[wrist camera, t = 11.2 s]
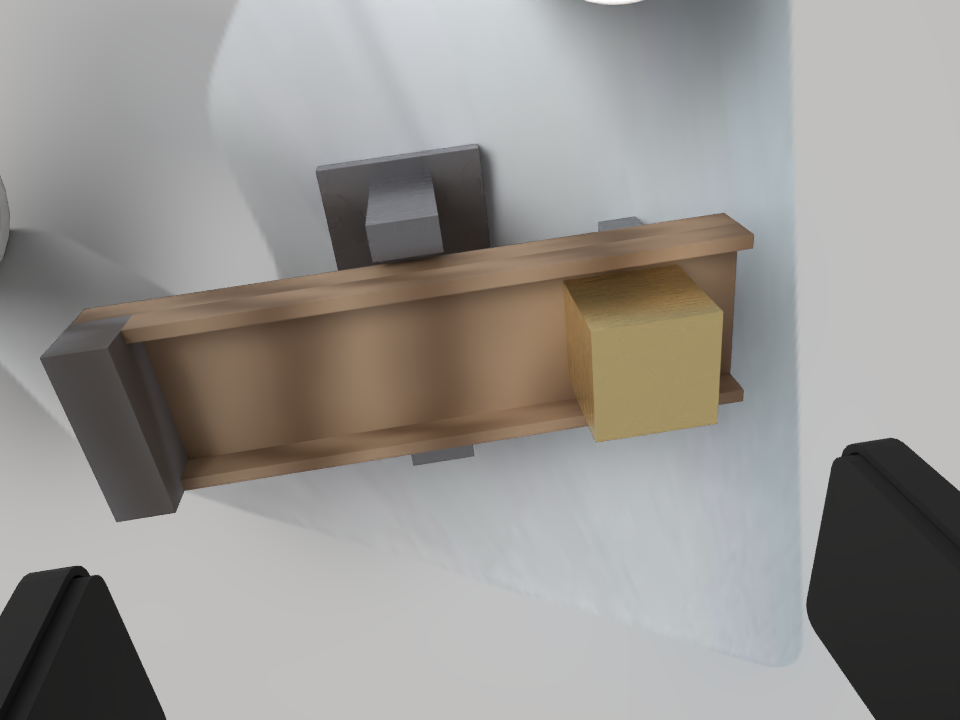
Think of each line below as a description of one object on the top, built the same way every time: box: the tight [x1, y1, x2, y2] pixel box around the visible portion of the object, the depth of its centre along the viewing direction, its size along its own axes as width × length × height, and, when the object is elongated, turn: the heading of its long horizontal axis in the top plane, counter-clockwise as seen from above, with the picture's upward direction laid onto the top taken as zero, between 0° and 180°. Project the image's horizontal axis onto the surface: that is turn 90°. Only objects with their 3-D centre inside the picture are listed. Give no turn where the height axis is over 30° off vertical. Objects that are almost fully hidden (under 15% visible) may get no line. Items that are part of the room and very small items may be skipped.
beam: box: [40, 213, 754, 522], centre depth 32 cm, size 28×8×5 cm, turn 97°
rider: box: [563, 264, 723, 442], centre depth 30 cm, size 5×5×5 cm
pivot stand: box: [316, 144, 490, 466], centre depth 36 cm, size 8×14×8 cm, turn 7°
